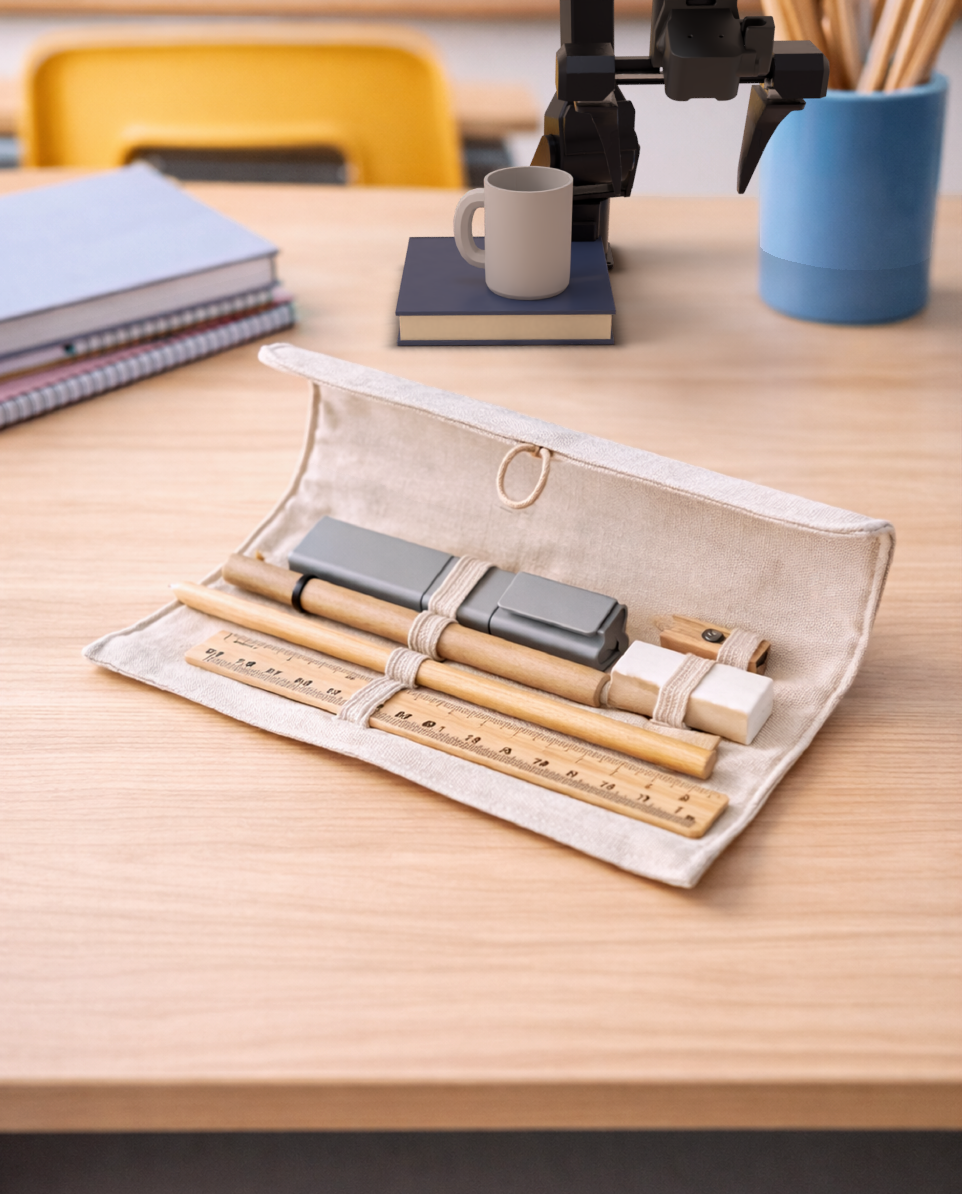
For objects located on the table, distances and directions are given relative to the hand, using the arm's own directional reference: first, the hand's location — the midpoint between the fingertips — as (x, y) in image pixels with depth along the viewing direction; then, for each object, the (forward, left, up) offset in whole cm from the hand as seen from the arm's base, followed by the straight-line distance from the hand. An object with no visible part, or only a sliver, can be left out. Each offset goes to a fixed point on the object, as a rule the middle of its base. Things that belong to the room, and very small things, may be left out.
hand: (678, 193), depth 89 cm
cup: (-8, -13, -10) cm, 18 cm away
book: (-11, -13, -13) cm, 21 cm away
